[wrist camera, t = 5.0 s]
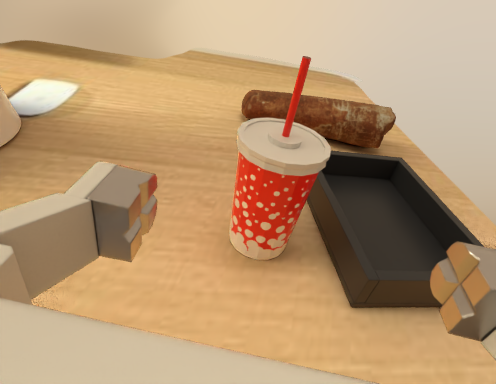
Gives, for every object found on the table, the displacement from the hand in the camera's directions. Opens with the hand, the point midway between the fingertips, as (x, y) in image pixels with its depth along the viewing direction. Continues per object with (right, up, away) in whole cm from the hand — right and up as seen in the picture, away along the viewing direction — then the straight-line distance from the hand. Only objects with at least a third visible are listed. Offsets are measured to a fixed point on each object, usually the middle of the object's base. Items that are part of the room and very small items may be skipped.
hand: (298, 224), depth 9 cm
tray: (+10, -2, +21) cm, 24 cm away
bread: (+7, +9, +35) cm, 37 cm away
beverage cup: (-1, -3, +17) cm, 18 cm away
